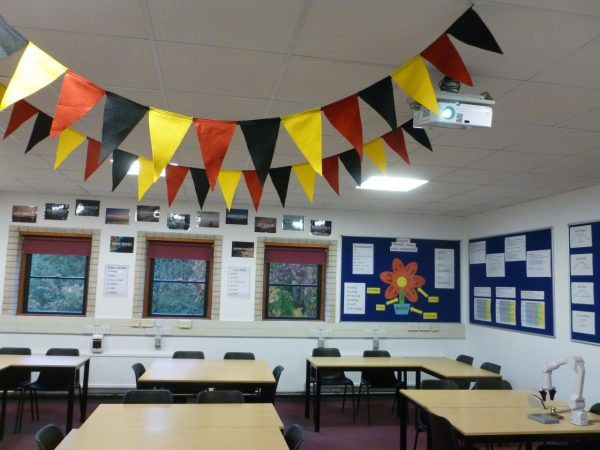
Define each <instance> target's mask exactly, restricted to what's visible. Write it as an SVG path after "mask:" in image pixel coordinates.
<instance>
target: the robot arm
mask: <svg viewBox="0 0 600 450" xmlns="http://www.w3.org/2000/svg"><path fill="white" fill-rule="evenodd" d="M564 365H568V366H569V367H570V368H571V369H572V370H573V371H575V375H574V384H573V390H572V391H573V392H572V394H571V395H570V396H569V399H568V400H567V405H568V408H569V410H570V418H571V419H570V420H568V421H567V422H568V423H570V424H573V425H575V426H579V427H583V426H584V427H585V426H589V425H590V424H589V423H588V422H589V421H588V419H589V418H588V414H587V413H586V412H585V411H584V410H585V408H586V402H585V400H586V398H584V397H583V392H584V385H585V376H586V368H585V367H586V366H585V359H584V358H583V357H582V356H579V355H577V356H575V355H574V356H573V355H571V356H570V355H569V356H566V357H563V358H561V359H558V360H554V359H552V360H550V362H546V363H545V364H544V363H542V364H540V366H539V367H540V368H539V369H540V371H541V372H542V375H541V376H542V387H538V388H539V389H538V392H539V394H540V397H541V398H542V400H543V401H544V402H546V401H547V393H548V395H549V400H550V401H554V400H555V395H556V394H557V387H556V386H552V385H553V383H552V379H553V378H552V374H553V371H555V370H558V369H560V367H561V366H564Z"/></svg>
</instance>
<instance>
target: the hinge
mask: <svg viewBox="0 0 600 450" xmlns="http://www.w3.org/2000/svg"><path fill="white" fill-rule="evenodd" d="M527 401H528V405H531V406H534V407H536V408H537V409H538V408H539V409H541V410H545V409H547V410H549V409H550V407H549V406H548V405H546V401H543V400H542V397H541V395H538V394H534V393H533V394H531V393H530V394H529V395H527Z"/></svg>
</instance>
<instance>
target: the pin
mask: <svg viewBox="0 0 600 450" xmlns="http://www.w3.org/2000/svg"><path fill="white" fill-rule="evenodd" d="M549 409H550V413H551V415H552V416H556V414H557V412H556V411H557V407H554V406H550V407H549Z"/></svg>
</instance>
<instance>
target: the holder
mask: <svg viewBox="0 0 600 450" xmlns="http://www.w3.org/2000/svg"><path fill="white" fill-rule="evenodd" d="M544 414H545V415H548V416H551V417H554V418H557V419H559V421H560V420H562V421H563V420H565V417H564V416H563V415H561V414H557V413H556V416H552V415H551V412H549V413H544Z"/></svg>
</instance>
